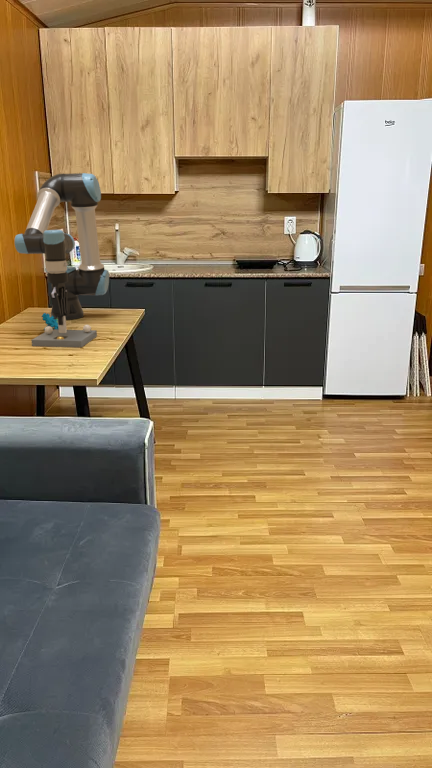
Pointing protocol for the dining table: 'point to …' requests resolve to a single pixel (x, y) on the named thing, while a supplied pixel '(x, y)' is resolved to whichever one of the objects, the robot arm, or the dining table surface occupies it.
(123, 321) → the dining table surface
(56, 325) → the gear
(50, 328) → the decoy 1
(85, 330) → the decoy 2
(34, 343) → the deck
